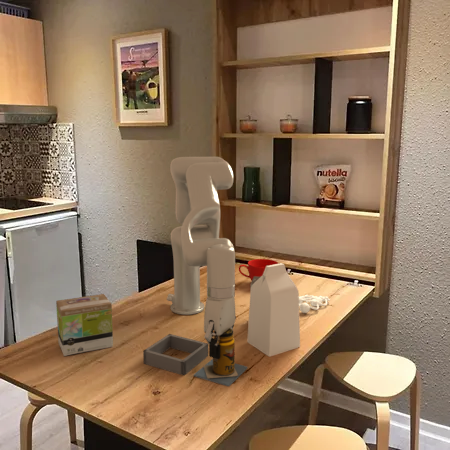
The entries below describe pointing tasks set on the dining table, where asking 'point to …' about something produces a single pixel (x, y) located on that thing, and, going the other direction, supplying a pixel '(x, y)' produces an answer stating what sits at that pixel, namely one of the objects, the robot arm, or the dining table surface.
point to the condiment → (223, 358)
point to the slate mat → (221, 380)
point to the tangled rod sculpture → (314, 302)
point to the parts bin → (173, 364)
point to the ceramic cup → (257, 267)
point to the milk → (274, 312)
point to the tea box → (84, 324)
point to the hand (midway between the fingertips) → (221, 351)
